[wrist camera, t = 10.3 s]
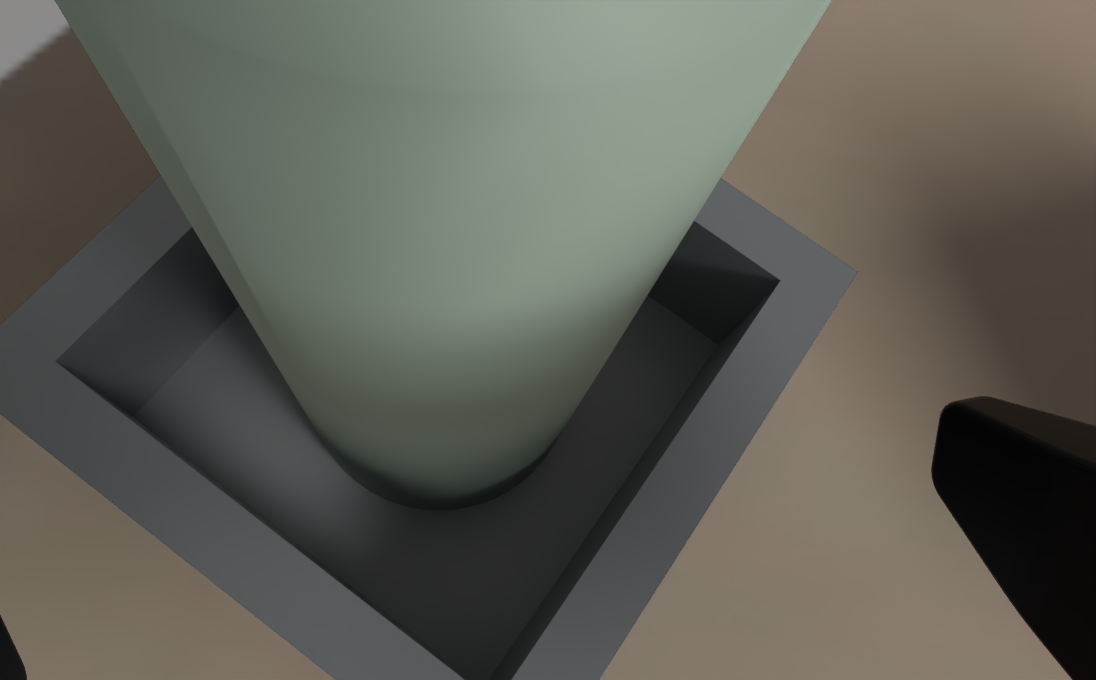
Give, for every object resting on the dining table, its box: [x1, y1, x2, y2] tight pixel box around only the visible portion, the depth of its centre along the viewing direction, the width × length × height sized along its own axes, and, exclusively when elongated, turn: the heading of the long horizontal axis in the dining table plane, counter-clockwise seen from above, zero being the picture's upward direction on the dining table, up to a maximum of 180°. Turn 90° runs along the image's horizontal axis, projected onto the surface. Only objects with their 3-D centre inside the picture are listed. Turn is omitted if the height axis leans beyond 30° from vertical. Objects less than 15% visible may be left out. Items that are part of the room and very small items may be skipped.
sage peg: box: [55, 0, 832, 510], centre depth 10 cm, size 5×5×13 cm
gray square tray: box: [0, 175, 858, 680], centre depth 15 cm, size 10×10×4 cm
